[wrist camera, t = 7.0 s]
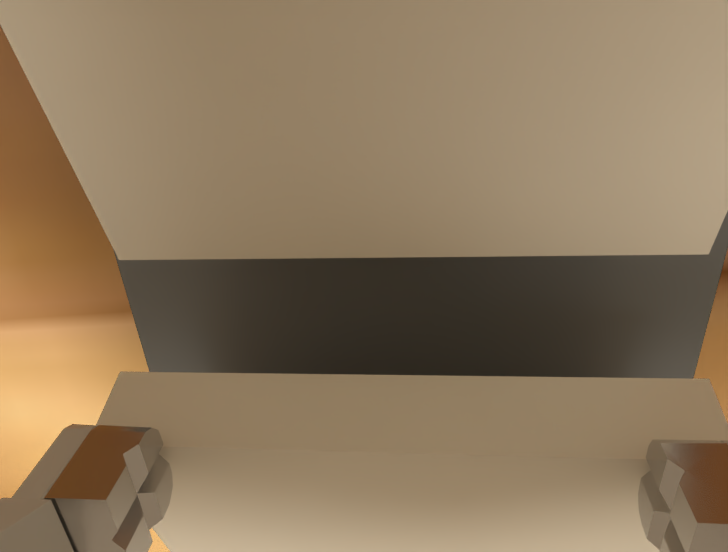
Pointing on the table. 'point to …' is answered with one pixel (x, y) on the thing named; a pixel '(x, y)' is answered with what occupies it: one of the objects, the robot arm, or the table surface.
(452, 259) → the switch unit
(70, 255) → the table surface
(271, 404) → the block
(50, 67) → the rocker
